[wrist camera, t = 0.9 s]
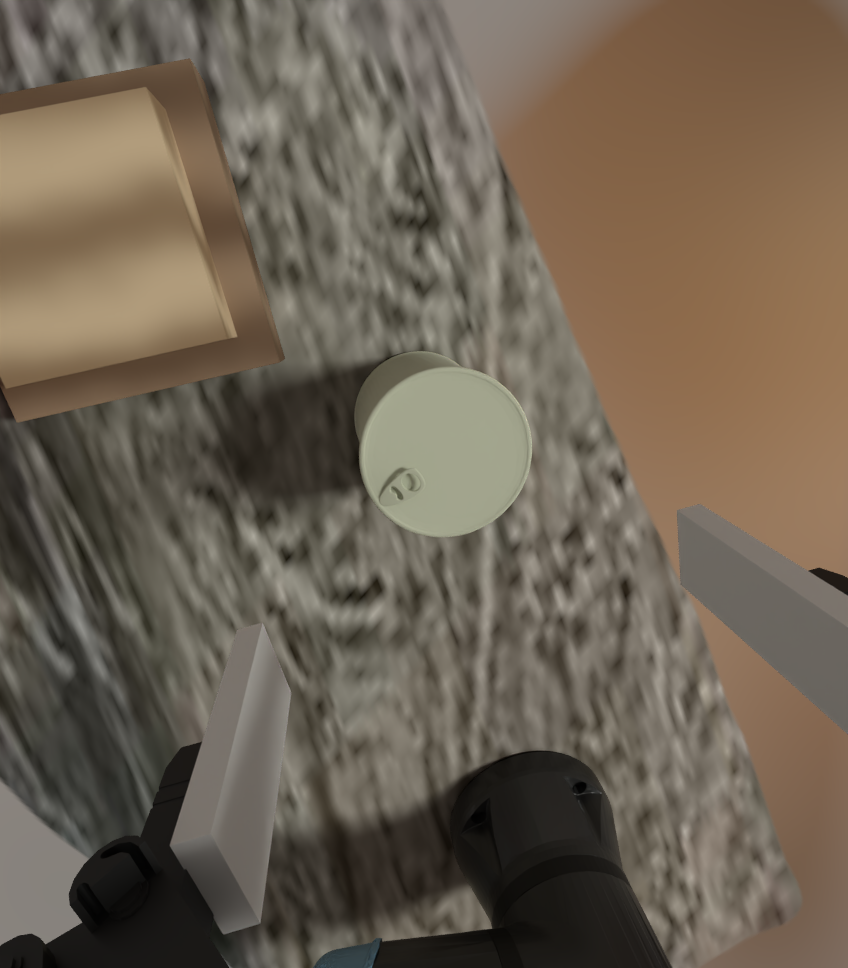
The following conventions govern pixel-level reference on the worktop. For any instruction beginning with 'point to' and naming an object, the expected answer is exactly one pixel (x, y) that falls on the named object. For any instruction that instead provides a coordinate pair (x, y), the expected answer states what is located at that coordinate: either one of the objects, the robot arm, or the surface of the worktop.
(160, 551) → the worktop surface
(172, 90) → the plinth
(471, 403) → the can
